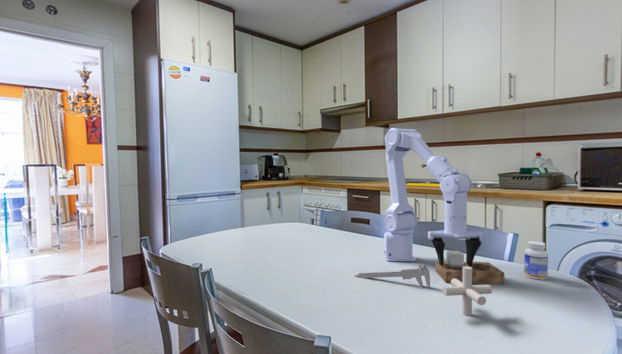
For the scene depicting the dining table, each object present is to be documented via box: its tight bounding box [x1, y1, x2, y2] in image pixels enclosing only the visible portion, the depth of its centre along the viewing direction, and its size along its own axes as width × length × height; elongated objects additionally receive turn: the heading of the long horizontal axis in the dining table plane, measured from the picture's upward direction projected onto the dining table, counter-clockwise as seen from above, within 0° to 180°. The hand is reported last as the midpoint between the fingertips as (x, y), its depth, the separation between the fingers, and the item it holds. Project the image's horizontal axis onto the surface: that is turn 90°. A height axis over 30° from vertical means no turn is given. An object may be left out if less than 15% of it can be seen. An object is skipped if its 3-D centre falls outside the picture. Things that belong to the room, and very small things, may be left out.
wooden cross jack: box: [441, 266, 493, 317], centre depth 67 cm, size 10×10×10 cm
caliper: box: [354, 263, 431, 289], centre depth 86 cm, size 20×1×6 cm, turn 63°
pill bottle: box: [523, 240, 549, 281], centre depth 88 cm, size 5×5×10 cm
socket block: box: [435, 260, 505, 285], centre depth 89 cm, size 15×9×3 cm, turn 85°
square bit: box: [445, 250, 465, 270], centre depth 89 cm, size 4×4×7 cm
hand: (455, 264), depth 89 cm, fingers open, 7 cm apart
